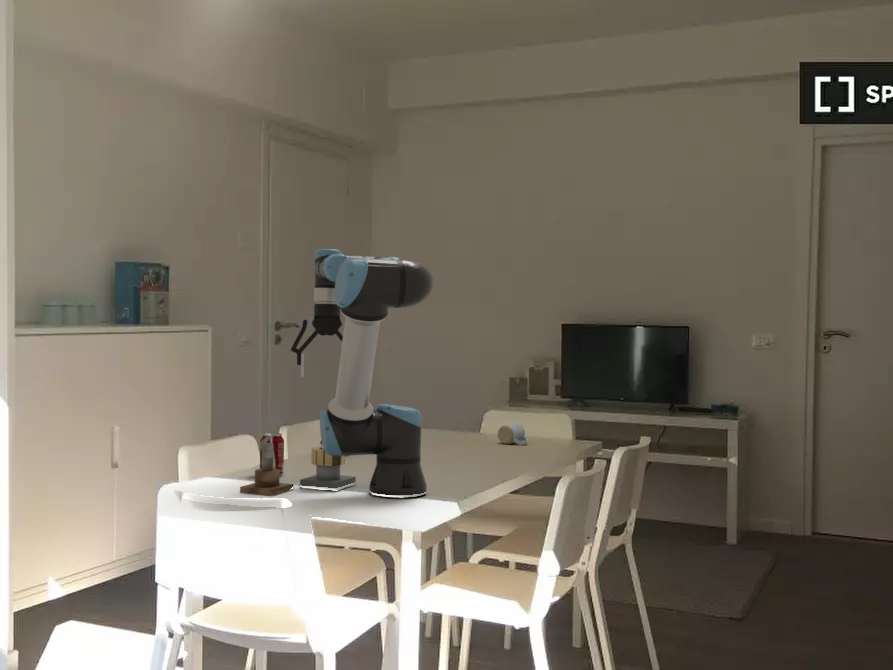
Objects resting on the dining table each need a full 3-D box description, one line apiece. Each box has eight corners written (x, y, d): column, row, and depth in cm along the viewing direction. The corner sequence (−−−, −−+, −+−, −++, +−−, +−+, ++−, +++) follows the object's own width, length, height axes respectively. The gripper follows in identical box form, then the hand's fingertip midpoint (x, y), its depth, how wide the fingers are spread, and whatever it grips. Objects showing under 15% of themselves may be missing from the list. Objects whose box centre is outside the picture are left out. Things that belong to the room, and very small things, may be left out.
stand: (293, 489, 260) (294, 442, 260) (272, 495, 251) (273, 447, 250) (261, 486, 264) (262, 440, 263) (240, 492, 254) (240, 444, 254)
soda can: (285, 473, 285) (285, 432, 284) (281, 477, 278) (282, 435, 278) (261, 473, 284) (262, 432, 284) (258, 477, 278) (258, 435, 277)
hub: (355, 485, 268) (356, 436, 268) (335, 491, 258) (336, 441, 257) (320, 482, 272) (321, 434, 272) (299, 488, 262) (300, 438, 262)
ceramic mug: (495, 443, 359) (496, 422, 359) (507, 441, 366) (508, 421, 365) (520, 446, 353) (521, 425, 352) (532, 444, 359) (532, 423, 359)
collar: (344, 460, 270) (344, 446, 270) (345, 465, 261) (345, 451, 261) (311, 460, 269) (311, 446, 269) (311, 465, 260) (311, 451, 260)
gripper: (370, 304, 285) (368, 376, 286) (283, 302, 282) (282, 375, 283) (371, 303, 278) (370, 378, 279) (282, 302, 275) (281, 377, 275)
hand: (326, 377), depth 281 cm, fingers open, 13 cm apart
